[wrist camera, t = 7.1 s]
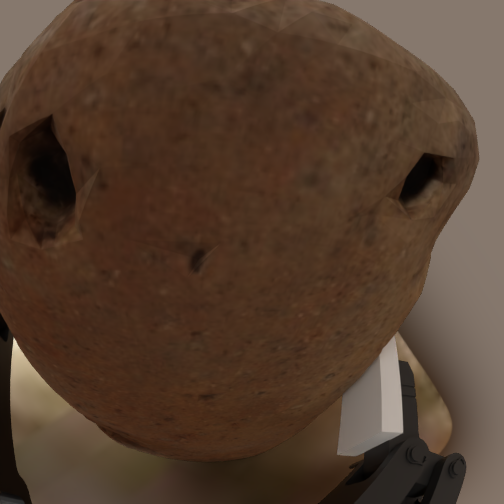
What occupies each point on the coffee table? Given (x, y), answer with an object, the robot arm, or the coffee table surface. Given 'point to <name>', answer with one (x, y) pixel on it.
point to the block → (218, 212)
